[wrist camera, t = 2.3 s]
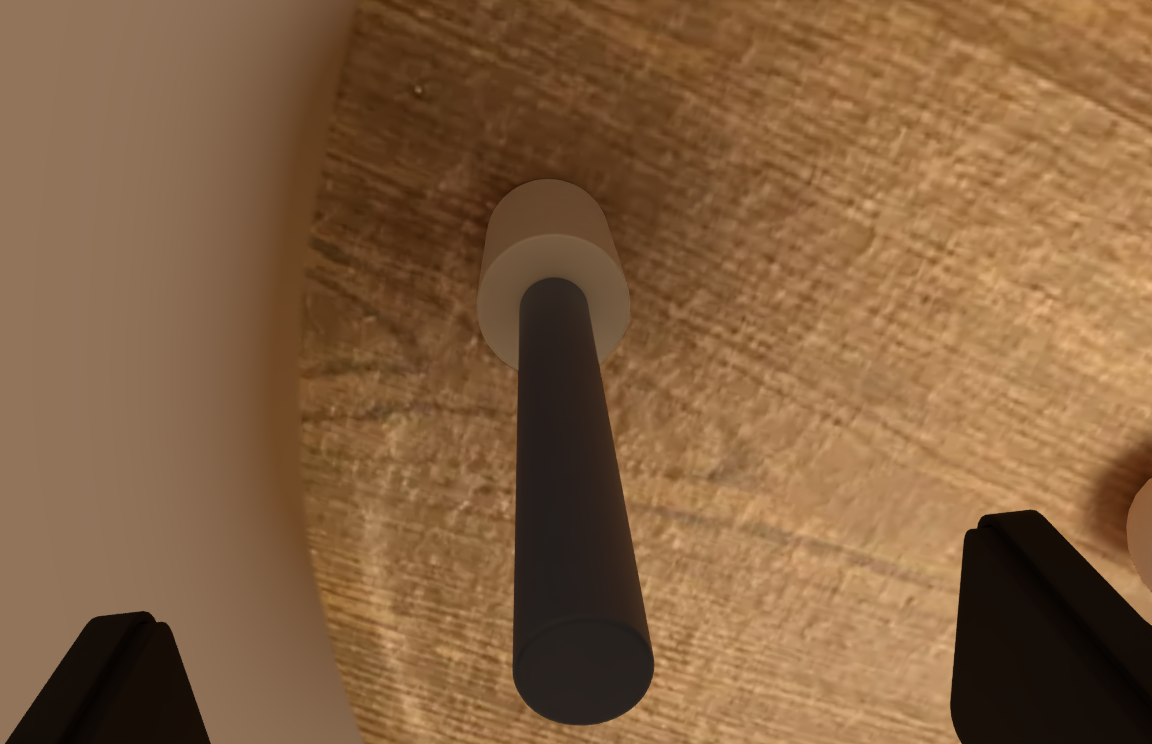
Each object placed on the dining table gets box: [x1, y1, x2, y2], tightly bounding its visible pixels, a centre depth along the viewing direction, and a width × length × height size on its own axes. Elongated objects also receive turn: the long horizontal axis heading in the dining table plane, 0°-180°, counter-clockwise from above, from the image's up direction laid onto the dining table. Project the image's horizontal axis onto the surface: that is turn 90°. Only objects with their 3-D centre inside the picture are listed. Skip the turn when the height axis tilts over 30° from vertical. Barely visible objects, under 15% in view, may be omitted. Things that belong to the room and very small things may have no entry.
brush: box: [476, 179, 654, 725], centre depth 18 cm, size 4×4×18 cm
